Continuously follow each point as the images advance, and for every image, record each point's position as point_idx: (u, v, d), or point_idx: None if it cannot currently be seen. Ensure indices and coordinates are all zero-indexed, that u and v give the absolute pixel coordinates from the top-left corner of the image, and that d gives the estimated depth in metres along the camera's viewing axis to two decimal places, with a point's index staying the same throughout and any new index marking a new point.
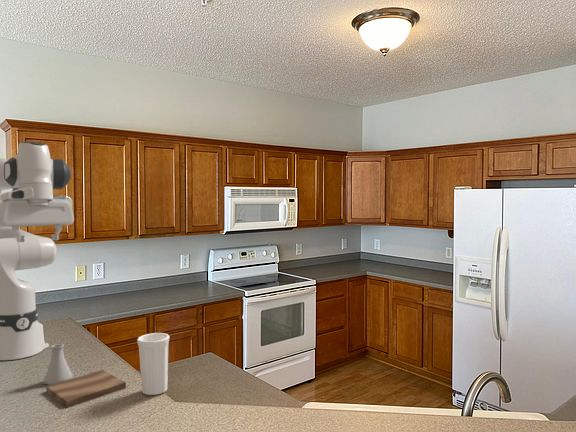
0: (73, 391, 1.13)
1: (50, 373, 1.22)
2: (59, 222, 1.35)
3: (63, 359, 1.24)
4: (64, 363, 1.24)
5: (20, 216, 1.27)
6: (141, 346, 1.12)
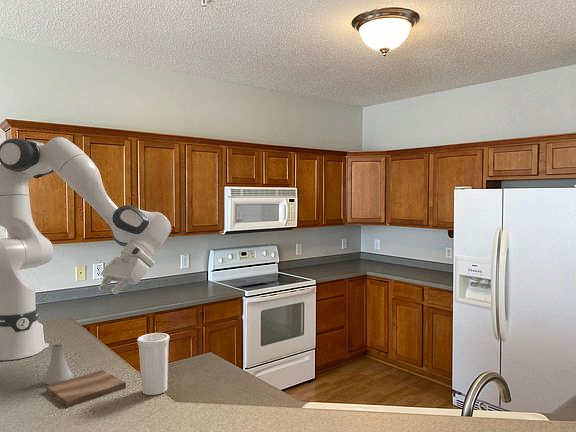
0: (73, 391, 1.13)
1: (50, 373, 1.22)
2: None
3: (63, 359, 1.24)
4: (64, 363, 1.24)
5: None
6: (141, 346, 1.12)
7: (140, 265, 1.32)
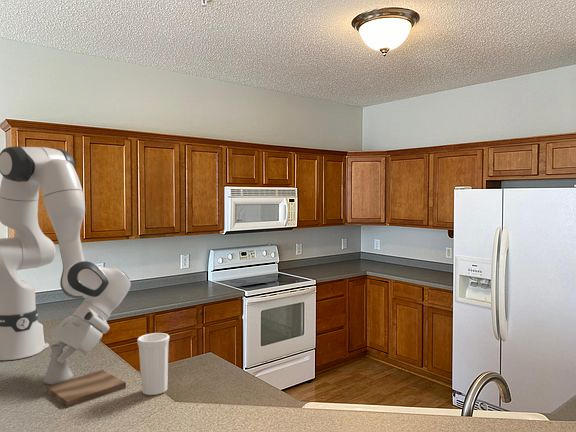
0: (73, 391, 1.13)
1: (50, 372, 1.22)
2: None
3: None
4: (64, 362, 1.24)
5: None
6: (141, 346, 1.12)
7: (93, 333, 1.22)
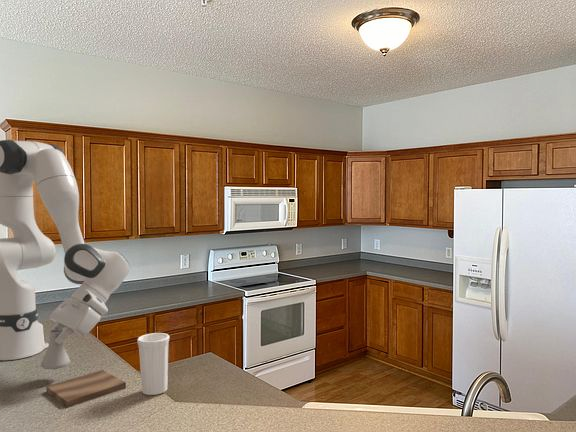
0: (73, 391, 1.13)
1: (47, 357, 1.23)
2: None
3: (60, 344, 1.24)
4: (61, 348, 1.24)
5: None
6: (141, 346, 1.12)
7: (91, 315, 1.22)
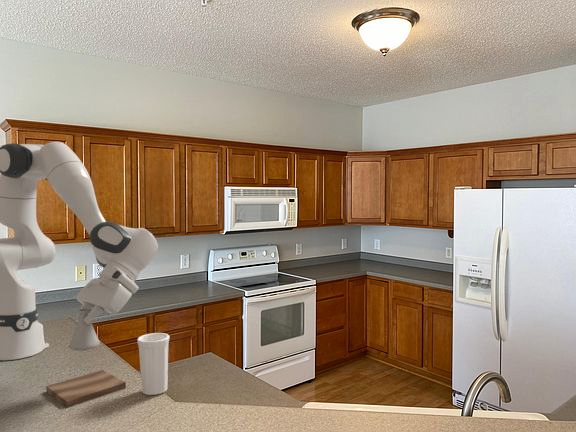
0: (73, 391, 1.13)
1: (76, 338, 1.15)
2: None
3: (89, 324, 1.17)
4: (90, 328, 1.17)
5: None
6: (141, 346, 1.12)
7: (122, 292, 1.15)
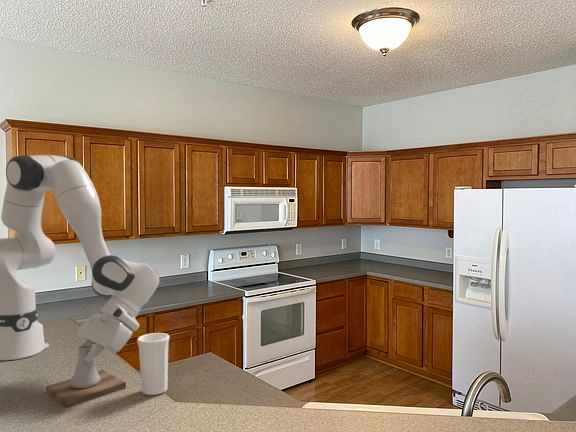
0: (73, 391, 1.13)
1: (77, 375, 1.16)
2: None
3: None
4: (91, 365, 1.17)
5: None
6: (141, 346, 1.12)
7: (123, 331, 1.15)
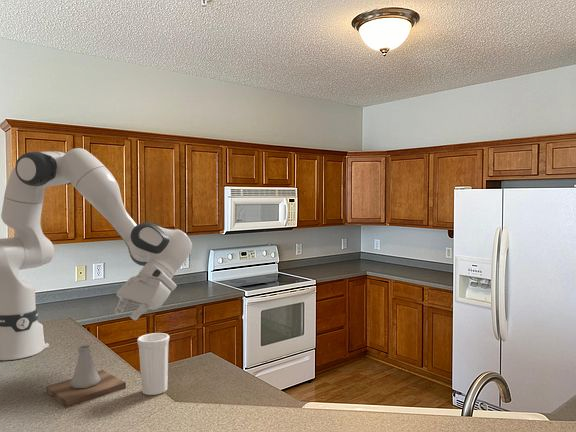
0: (73, 391, 1.13)
1: (76, 375, 1.16)
2: None
3: (90, 361, 1.17)
4: (91, 365, 1.17)
5: None
6: (141, 346, 1.12)
7: (162, 289, 1.23)
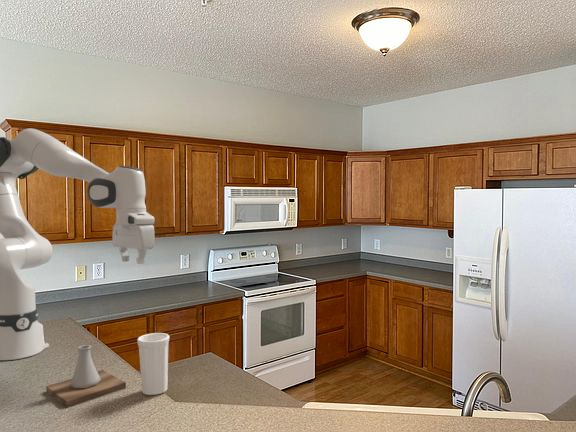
0: (73, 391, 1.13)
1: (76, 375, 1.16)
2: None
3: (90, 361, 1.17)
4: (91, 365, 1.17)
5: None
6: (141, 346, 1.12)
7: (145, 230, 1.31)
